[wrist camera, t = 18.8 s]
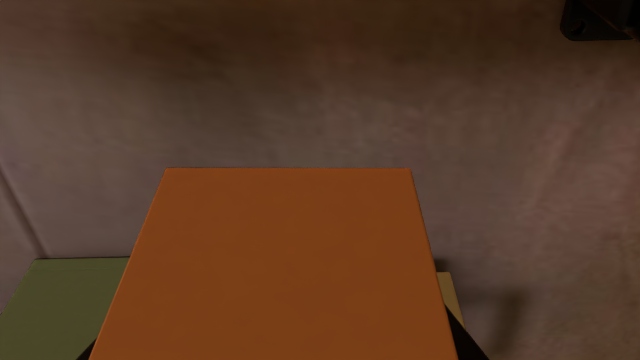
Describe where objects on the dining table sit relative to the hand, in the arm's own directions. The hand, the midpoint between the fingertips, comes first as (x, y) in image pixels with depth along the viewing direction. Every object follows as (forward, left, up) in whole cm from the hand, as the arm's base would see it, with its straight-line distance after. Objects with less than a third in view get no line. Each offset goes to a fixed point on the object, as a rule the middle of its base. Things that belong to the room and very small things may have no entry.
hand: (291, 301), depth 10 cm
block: (0, 0, -1) cm, 1 cm away
